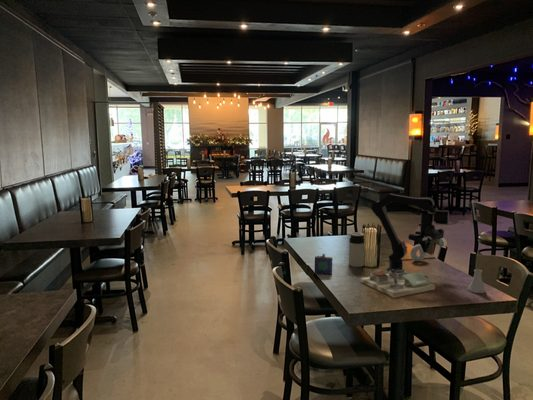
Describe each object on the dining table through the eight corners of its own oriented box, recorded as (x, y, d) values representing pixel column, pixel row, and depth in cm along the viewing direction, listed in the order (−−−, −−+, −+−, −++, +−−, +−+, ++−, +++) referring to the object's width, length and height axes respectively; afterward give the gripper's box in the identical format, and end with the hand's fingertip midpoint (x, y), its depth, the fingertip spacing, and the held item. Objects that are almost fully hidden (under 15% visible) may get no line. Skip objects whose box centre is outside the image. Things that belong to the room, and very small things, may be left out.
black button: (391, 274, 210) (391, 269, 210) (398, 273, 212) (398, 268, 211) (397, 277, 206) (397, 272, 206) (404, 275, 208) (404, 271, 207)
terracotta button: (372, 275, 205) (372, 270, 204) (379, 273, 206) (379, 269, 206) (378, 277, 201) (378, 272, 200) (385, 276, 202) (385, 271, 202)
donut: (412, 263, 239) (413, 245, 237) (408, 261, 242) (409, 244, 241) (426, 261, 242) (427, 244, 241) (422, 259, 245) (423, 243, 244)
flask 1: (332, 273, 219) (332, 253, 218) (331, 275, 217) (332, 255, 215) (314, 272, 221) (314, 252, 220) (314, 274, 219) (314, 254, 217)
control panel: (360, 282, 206) (361, 272, 205) (399, 275, 217) (400, 265, 216) (393, 297, 186) (394, 286, 185) (435, 289, 196) (435, 278, 196)
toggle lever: (393, 284, 193) (389, 269, 195) (396, 283, 194) (392, 268, 196) (396, 283, 192) (392, 268, 194) (399, 283, 193) (395, 268, 194)
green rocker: (401, 277, 199) (402, 274, 198) (418, 274, 204) (419, 271, 203) (412, 287, 193) (413, 284, 192) (430, 283, 197) (431, 281, 197)
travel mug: (352, 267, 230) (353, 235, 227) (346, 263, 237) (347, 232, 235) (365, 266, 231) (366, 234, 229) (359, 262, 239) (360, 231, 236)
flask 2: (475, 294, 190) (477, 273, 188) (464, 289, 197) (465, 268, 195) (489, 293, 192) (490, 272, 190) (477, 287, 198) (478, 267, 197)
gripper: (425, 227, 202) (423, 258, 204) (452, 223, 210) (450, 254, 212) (408, 223, 212) (406, 253, 214) (435, 220, 220) (433, 249, 222)
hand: (425, 252), depth 216 cm, fingers closed
